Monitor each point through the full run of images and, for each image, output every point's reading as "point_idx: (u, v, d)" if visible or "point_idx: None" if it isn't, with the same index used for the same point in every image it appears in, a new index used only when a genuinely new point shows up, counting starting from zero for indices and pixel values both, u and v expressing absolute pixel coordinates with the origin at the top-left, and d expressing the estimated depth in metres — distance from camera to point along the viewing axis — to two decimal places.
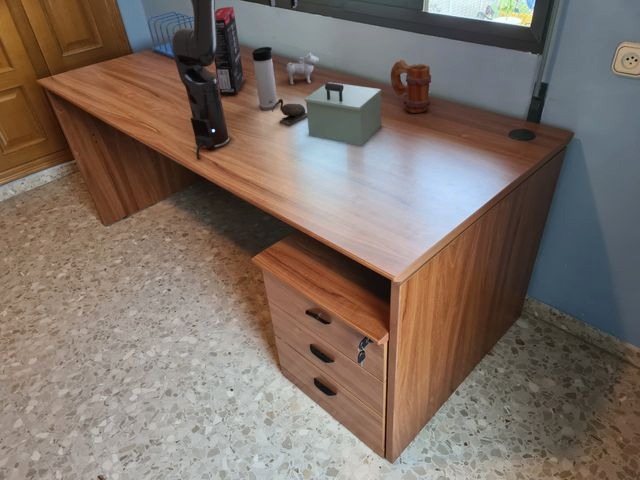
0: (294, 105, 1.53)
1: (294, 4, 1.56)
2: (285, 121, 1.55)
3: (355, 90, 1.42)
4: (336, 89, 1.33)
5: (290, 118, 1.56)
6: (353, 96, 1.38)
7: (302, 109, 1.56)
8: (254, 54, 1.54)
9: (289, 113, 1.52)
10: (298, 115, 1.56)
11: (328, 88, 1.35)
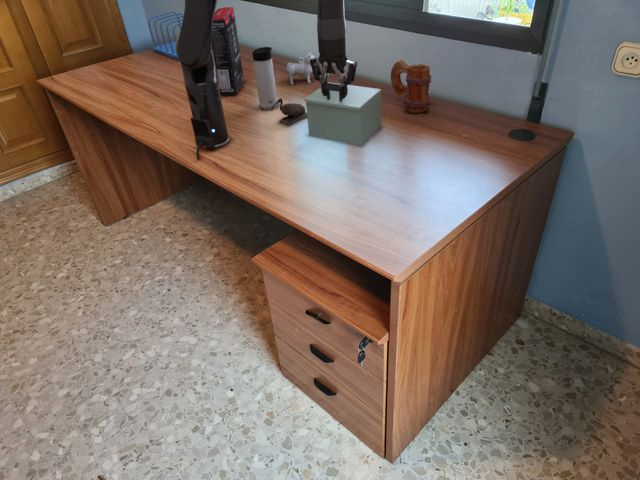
0: (294, 105, 1.53)
1: (344, 95, 1.34)
2: (285, 121, 1.55)
3: (355, 90, 1.42)
4: (336, 89, 1.33)
5: (290, 118, 1.57)
6: (353, 96, 1.38)
7: (302, 109, 1.56)
8: (254, 54, 1.54)
9: (288, 113, 1.52)
10: (298, 115, 1.56)
11: (328, 88, 1.35)
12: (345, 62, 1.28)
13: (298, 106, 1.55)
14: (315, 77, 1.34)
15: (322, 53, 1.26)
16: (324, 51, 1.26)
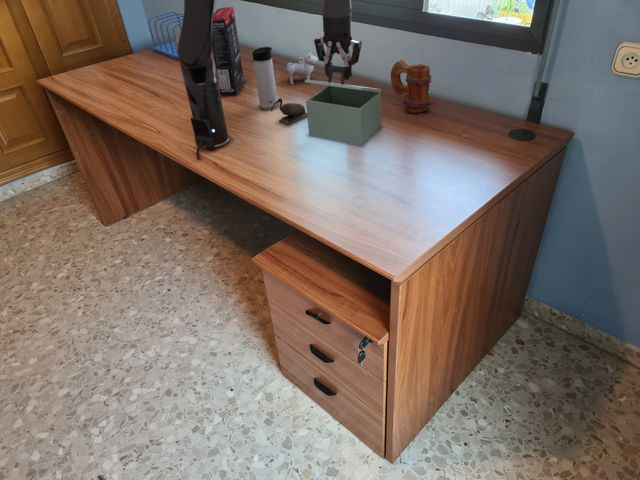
0: (294, 105, 1.53)
1: (348, 76, 1.33)
2: (284, 120, 1.55)
3: None
4: (340, 70, 1.32)
5: (290, 117, 1.57)
6: None
7: (302, 109, 1.56)
8: (254, 54, 1.54)
9: (288, 112, 1.53)
10: (298, 115, 1.56)
11: (331, 69, 1.33)
12: (350, 41, 1.27)
13: (298, 106, 1.55)
14: (319, 57, 1.33)
15: (327, 32, 1.25)
16: (329, 30, 1.25)
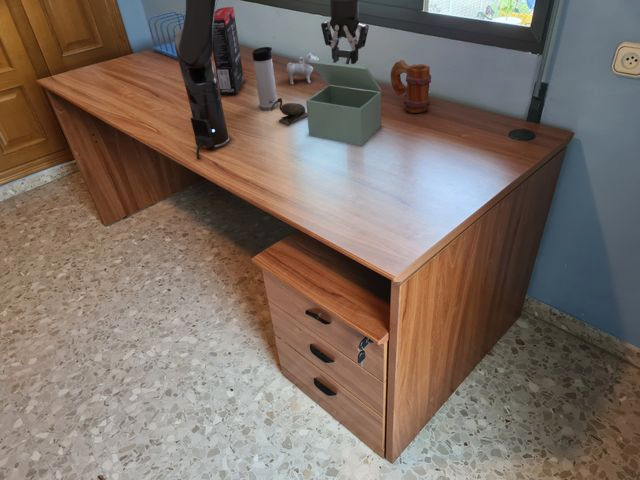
0: (293, 105, 1.54)
1: (355, 60, 1.34)
2: (284, 120, 1.55)
3: None
4: (346, 53, 1.33)
5: (290, 117, 1.57)
6: None
7: (302, 109, 1.56)
8: (254, 54, 1.54)
9: (288, 112, 1.53)
10: (298, 115, 1.56)
11: (338, 52, 1.34)
12: (357, 25, 1.28)
13: (298, 106, 1.55)
14: (326, 42, 1.34)
15: (334, 15, 1.26)
16: (336, 13, 1.26)
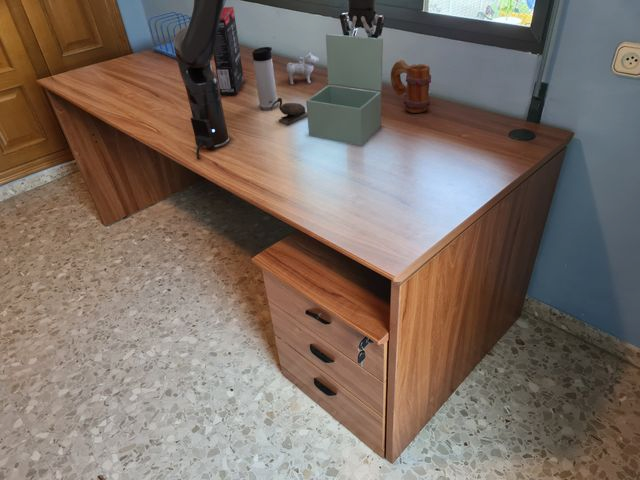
0: (293, 104, 1.54)
1: None
2: (284, 120, 1.55)
3: None
4: None
5: (289, 117, 1.57)
6: None
7: (302, 109, 1.56)
8: (254, 54, 1.54)
9: (288, 112, 1.53)
10: (297, 114, 1.56)
11: None
12: (374, 16, 1.35)
13: (298, 106, 1.55)
14: (344, 32, 1.42)
15: (352, 6, 1.34)
16: (355, 5, 1.33)
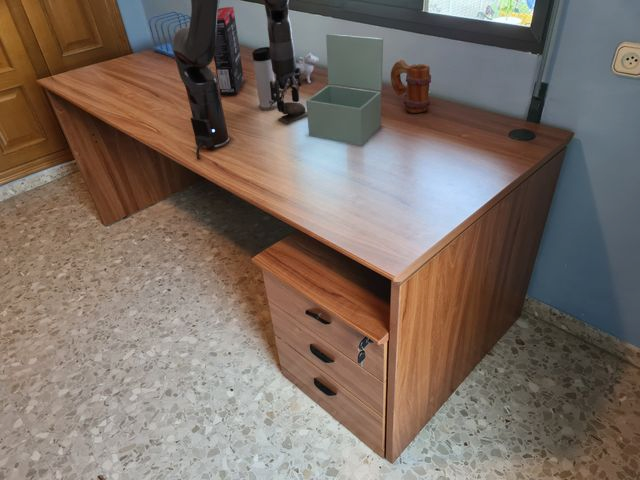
0: (293, 104, 1.54)
1: (278, 108, 1.50)
2: (283, 119, 1.56)
3: None
4: None
5: (289, 117, 1.57)
6: None
7: (301, 108, 1.57)
8: (254, 54, 1.54)
9: (287, 112, 1.53)
10: (297, 114, 1.57)
11: None
12: None
13: (297, 105, 1.55)
14: None
15: None
16: None
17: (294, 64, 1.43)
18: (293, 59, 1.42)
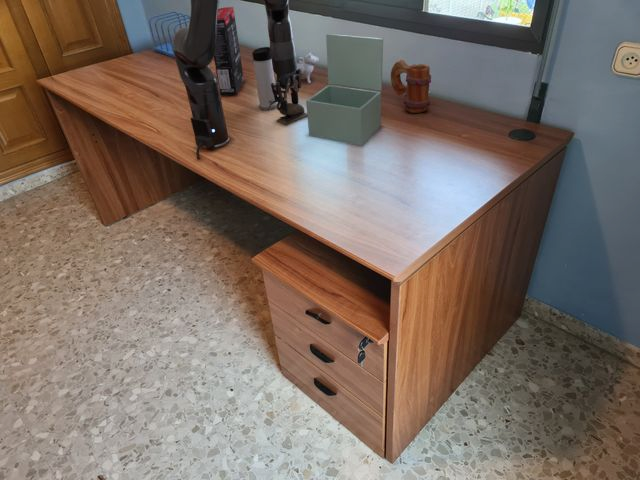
0: (292, 105, 1.54)
1: None
2: (282, 120, 1.56)
3: None
4: None
5: (288, 117, 1.57)
6: None
7: (300, 109, 1.56)
8: (254, 54, 1.54)
9: (286, 112, 1.53)
10: (296, 115, 1.56)
11: None
12: (276, 81, 1.45)
13: (296, 106, 1.55)
14: None
15: None
16: None
17: (295, 63, 1.43)
18: (294, 58, 1.42)
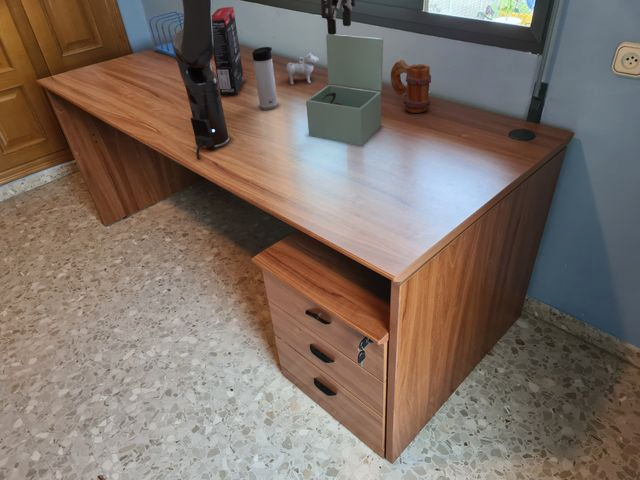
0: None
1: None
2: None
3: None
4: None
5: None
6: None
7: None
8: (254, 54, 1.54)
9: None
10: None
11: None
12: None
13: None
14: None
15: None
16: None
17: None
18: None
